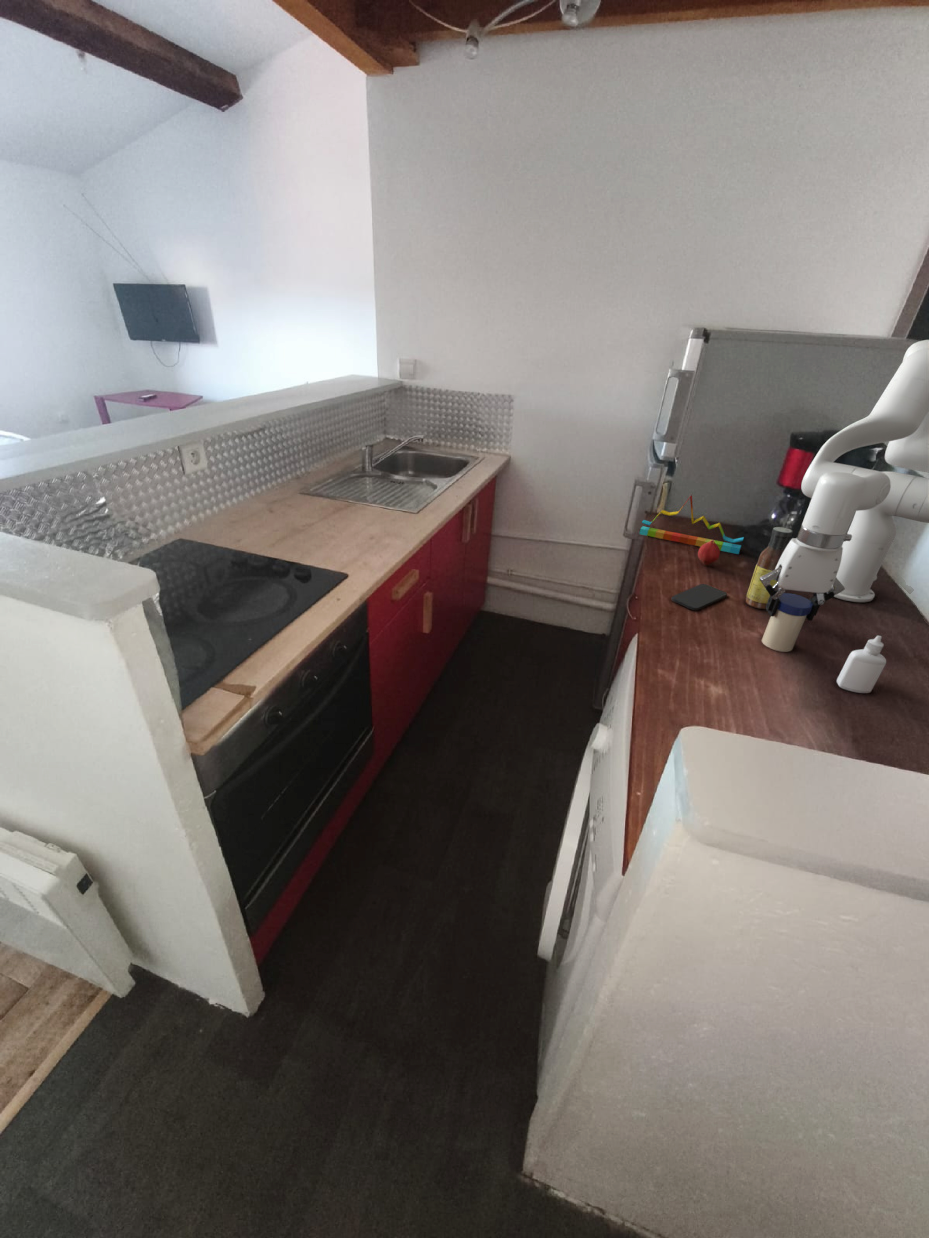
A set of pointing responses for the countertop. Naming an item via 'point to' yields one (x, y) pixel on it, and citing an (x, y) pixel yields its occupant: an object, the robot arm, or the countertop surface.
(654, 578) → the countertop surface
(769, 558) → the sauce bottle
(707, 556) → the onion
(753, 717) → the countertop surface
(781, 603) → the jar lid
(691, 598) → the phone
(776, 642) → the mayonnaise jar
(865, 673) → the eye dropper bottle
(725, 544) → the chart
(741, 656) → the countertop surface
